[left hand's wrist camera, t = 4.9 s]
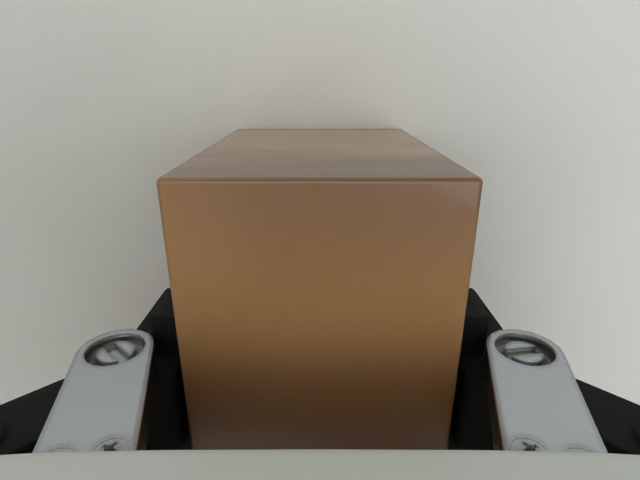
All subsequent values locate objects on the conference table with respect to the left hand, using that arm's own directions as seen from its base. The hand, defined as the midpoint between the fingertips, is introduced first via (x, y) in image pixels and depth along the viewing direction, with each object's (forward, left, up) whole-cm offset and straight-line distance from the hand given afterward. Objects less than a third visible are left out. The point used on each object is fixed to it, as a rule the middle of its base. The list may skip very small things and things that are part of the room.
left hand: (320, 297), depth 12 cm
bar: (-7, -22, -2) cm, 23 cm away
